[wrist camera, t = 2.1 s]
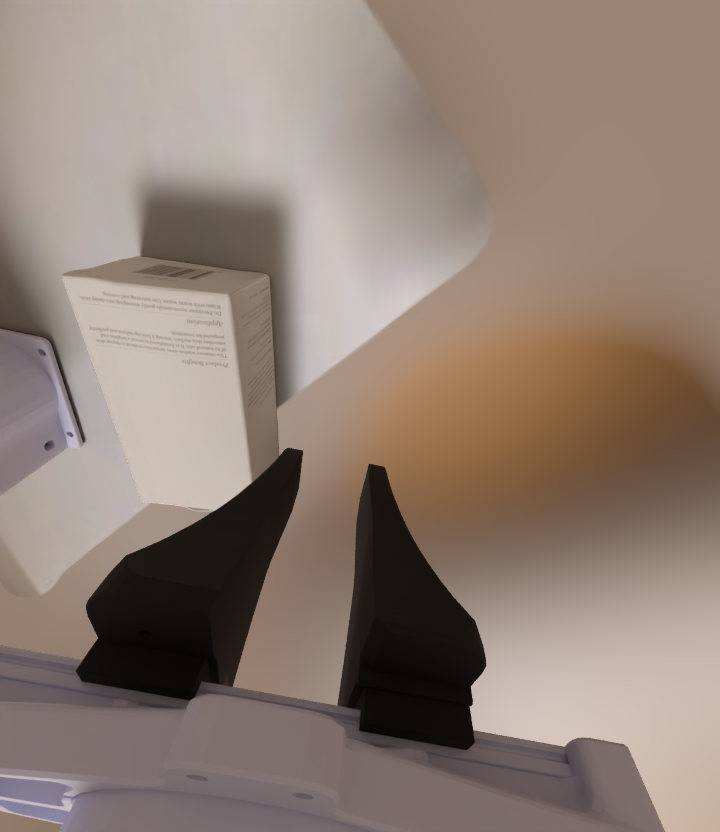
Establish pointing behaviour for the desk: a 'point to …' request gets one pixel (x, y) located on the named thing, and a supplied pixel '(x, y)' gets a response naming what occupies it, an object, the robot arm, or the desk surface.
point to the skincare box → (183, 373)
